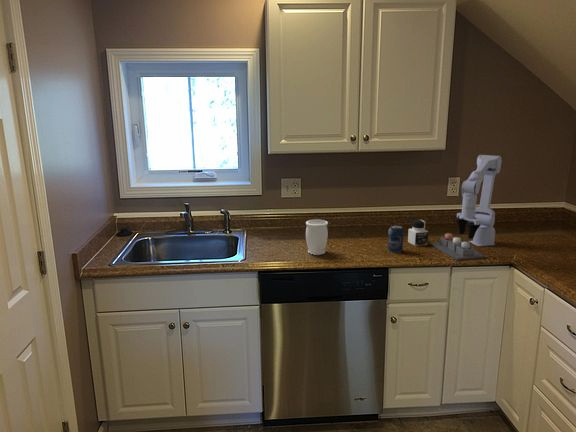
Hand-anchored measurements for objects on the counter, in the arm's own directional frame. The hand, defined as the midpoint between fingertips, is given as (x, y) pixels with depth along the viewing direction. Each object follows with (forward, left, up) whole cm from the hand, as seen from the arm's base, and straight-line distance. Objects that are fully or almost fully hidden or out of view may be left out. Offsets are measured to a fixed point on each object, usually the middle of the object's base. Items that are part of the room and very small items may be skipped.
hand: (466, 236), depth 205 cm
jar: (+65, -21, -10) cm, 69 cm away
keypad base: (0, -7, -9) cm, 12 cm away
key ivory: (0, -7, -6) cm, 9 cm away
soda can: (+28, -14, -10) cm, 33 cm away
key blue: (0, 0, -6) cm, 6 cm away
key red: (0, -14, -6) cm, 15 cm away
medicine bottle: (+12, -22, -10) cm, 27 cm away
